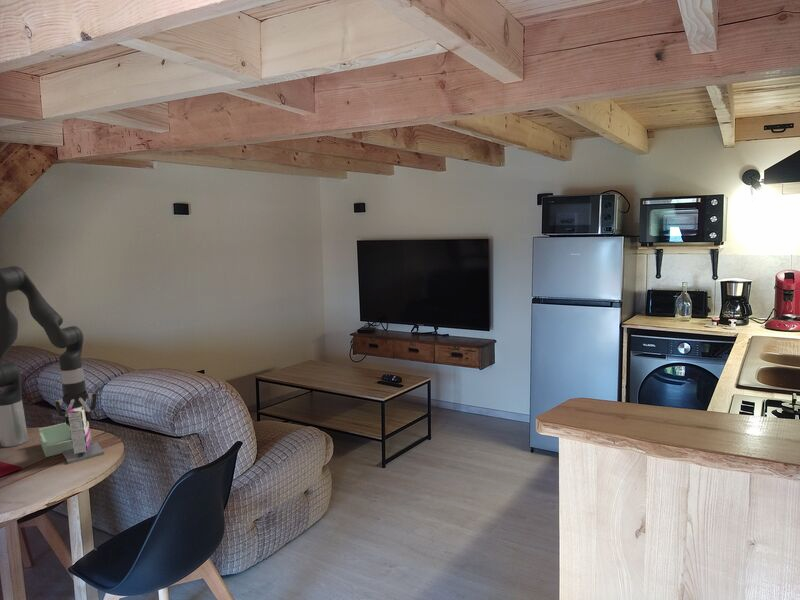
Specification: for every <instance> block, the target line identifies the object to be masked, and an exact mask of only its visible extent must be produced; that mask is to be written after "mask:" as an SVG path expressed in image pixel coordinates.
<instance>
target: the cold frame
mask: <svg viewBox="0 0 800 600" xmlns="http://www.w3.org/2000/svg"><path fill="white" fill-rule="evenodd" d="M38 434H39V439H40V440H39V441H40V446H41V449H42V451H43V453H44V457H45V458H47V457H52V456H56V455H60V454H63V451H66V450H70V449H73V446H72V439H71V432H70V426H68V425H67V424H66V422H63V423H58V424H54V425H48V426H45V427H40V428H38ZM90 435H91V444H93V435H92V431H91V430H90Z"/></svg>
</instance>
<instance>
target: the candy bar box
mask: <svg viewBox="0 0 800 600" xmlns="http://www.w3.org/2000/svg"><path fill="white" fill-rule="evenodd" d="M85 403H86V404H87V402H86V401H85ZM68 420H69V426H70V432H71V439H70V440H72V446H73V452H74V454H79V453H84V452H88V449H89V446H90V444H91V435H92V434H91V435H90V431H91V428H90V423H89V422H90V421H87V417H86V409H85V408H84V406H83V405H82V406H76V407H73V408H72V409H71V410H69V411H68Z"/></svg>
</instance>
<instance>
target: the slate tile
mask: <svg viewBox="0 0 800 600" xmlns="http://www.w3.org/2000/svg"><path fill="white" fill-rule="evenodd" d="M62 454H63V456H64V459H65V460H66V463H67V465H69V464H72V463H76V462H81V461H83V460H84V459H85V460H88V459H91V457H92V458H95V456H96V457H99V456H102V455H105V451H104V450H103V447H102V448H101V446H100V444H99V443H98V442H94V443H93V444H90V446H89V449H88V452H84V453H79V454H74V452H73V449H70V450H66V451H63V453H62Z"/></svg>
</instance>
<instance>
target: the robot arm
mask: <svg viewBox="0 0 800 600" xmlns="http://www.w3.org/2000/svg"><path fill="white" fill-rule="evenodd" d="M16 291H19V292H21V294H23V295H24V296H25V297H26V298H27V301H28V309H29V313H30V315H31V317H32V318H33V319H34V321H36V323H38V324H39V325H40V327H41V328H42V329H43V330H44V332H45V333H46V336H47V338H48V340H49V342H50V344H51V345H53V346H54V347H56V348H57V349H65V348H66V350H65V351H64V352H63V353H62V354H60V355H59V357H58V358H59V359H58V360H59V367H60V381H61V388H62V389H61V390H62V395H63V396H62V398H61V399H54V402H53V403H54V405H55V408H56V410H57V414H58V416H59V417H64V420H65V422H64V423H66V424H67V425H68V426H69V420H68V411H69V410H71V409H72V408H73V407H76V406H82V405H83V406H84V408H85V409H86V417H87V421H89V422H91V420H92V412H91V411H92V410H95V409H96V407H97V406H96V405H97V394H96V392H89V393H88V392H87V386H86V380H85V377H86V376H85V373H84V369H83V364H82V363H83V362H82V351H83V344H84V333H83V332H82V330H81V328H80V327H78V326H76V325H71V326H67V327H64V328H62V324H63V323H64V318H63V317H62V316H61V315H60V314H59V312H57V311H56V310H55V309H54V308H53V307H52V306H51V304H49V302H48V301H47V300H46V299H45V298H44V296H42V295H43V294H41V293H40V291H39V290H38V288H37V286H36V285H35V283H33V281H32V279H31V278H30V277H29V275H28V274H27V273H26V271H24V269H22V268H21V267H19V266H16V265H12V266H6V267H2V268H0V388H4V387H5V389H4V390H3V391H1V392H0V446H1V447H3V448H8V447H9V448H10V447H15V446H19V445H22V444H25V443H26V442H27V441H29V437H28V429H27V424H26V417H25V411H24V404H23V403H24V402H23V398H22V393H23V392H22V390H23V389H22V381H21V371H20V368H19V366H18V364H17V362H14V361H7V362H2V361H3V359H4V357H5V355H6V353H7V352H8V351H9V350H10V349H11V348H12V346H13V345H14V343H15V341H16V340H17V338H18V331H19V330H18V329H19V322H18V319H17V317H16V316H15V314H14V313H13V312H12V310H10V308H9V307H8V304H7V296H8V294H9V293H13V292H16ZM60 326H61V327H60ZM88 397H89V399H90V406H89V405H87V402H86V400H87V399H88ZM63 402H64V403H65V404H66V406H65V410H64V411H62V407H61V406H62V405H63ZM85 402H86V403H85Z"/></svg>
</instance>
